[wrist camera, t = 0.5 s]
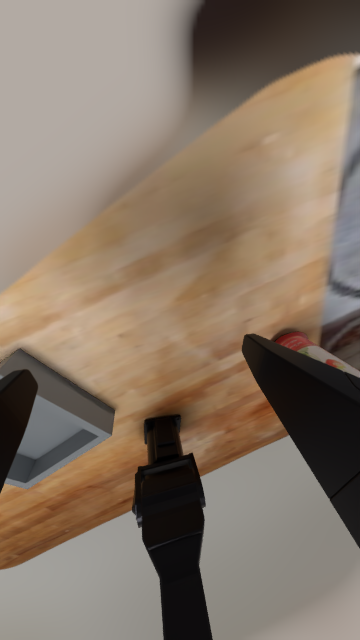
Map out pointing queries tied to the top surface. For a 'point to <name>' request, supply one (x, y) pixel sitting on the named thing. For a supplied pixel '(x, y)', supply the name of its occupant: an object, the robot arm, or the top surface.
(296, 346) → the liquor
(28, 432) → the tray
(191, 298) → the top surface
